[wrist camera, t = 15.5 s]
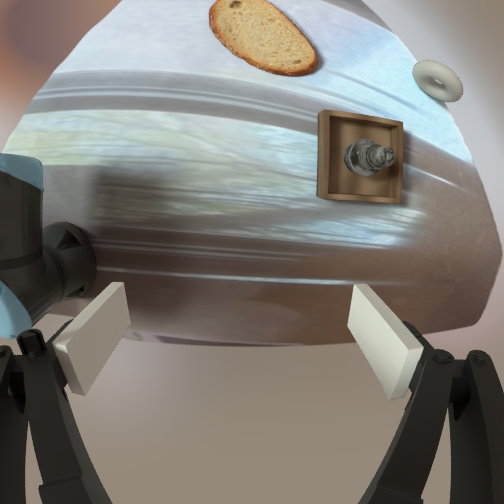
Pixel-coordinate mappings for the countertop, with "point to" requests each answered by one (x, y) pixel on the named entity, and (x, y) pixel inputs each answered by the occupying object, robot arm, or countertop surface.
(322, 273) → the countertop surface
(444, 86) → the donut
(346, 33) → the countertop surface
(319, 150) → the box
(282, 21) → the slice of bread
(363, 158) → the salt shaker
